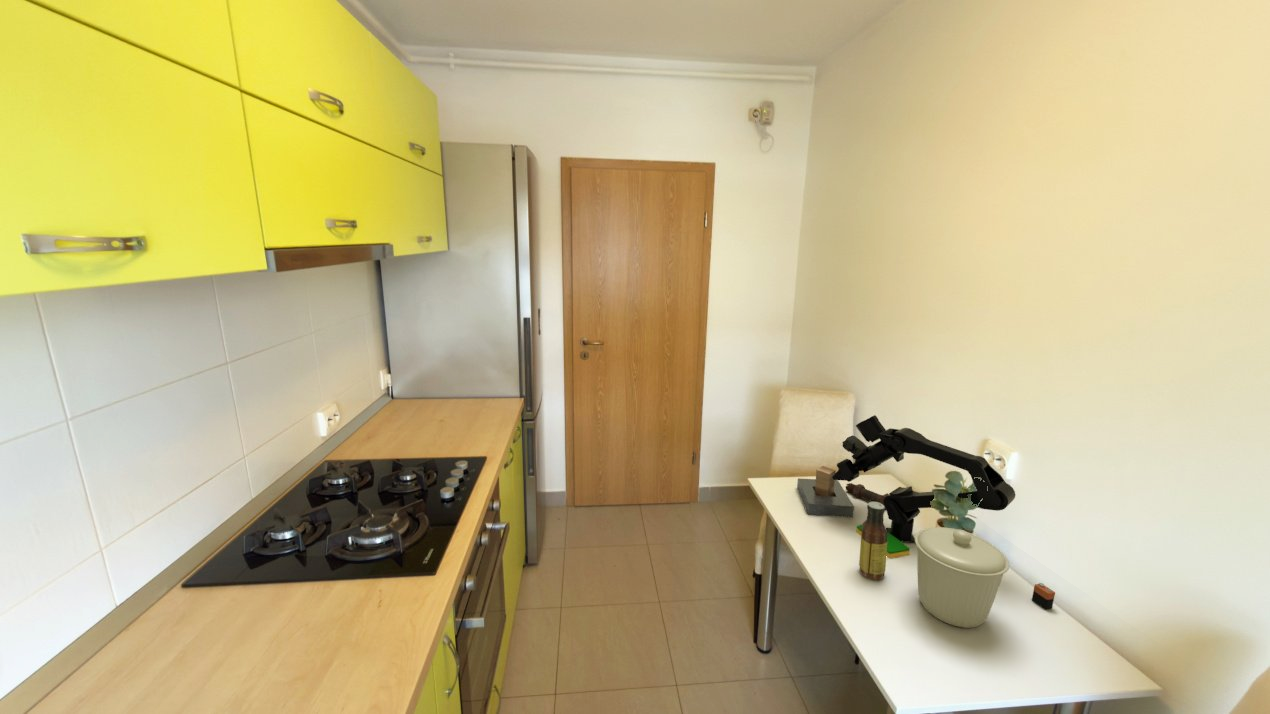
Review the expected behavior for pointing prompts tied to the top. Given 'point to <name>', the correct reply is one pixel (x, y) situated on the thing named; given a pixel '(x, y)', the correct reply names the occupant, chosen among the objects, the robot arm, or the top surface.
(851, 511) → the hole plate
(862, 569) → the sauce bottle
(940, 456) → the robot arm
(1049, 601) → the battery
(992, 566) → the canister
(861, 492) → the bolt
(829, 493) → the walnut block
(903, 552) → the dish sponge
